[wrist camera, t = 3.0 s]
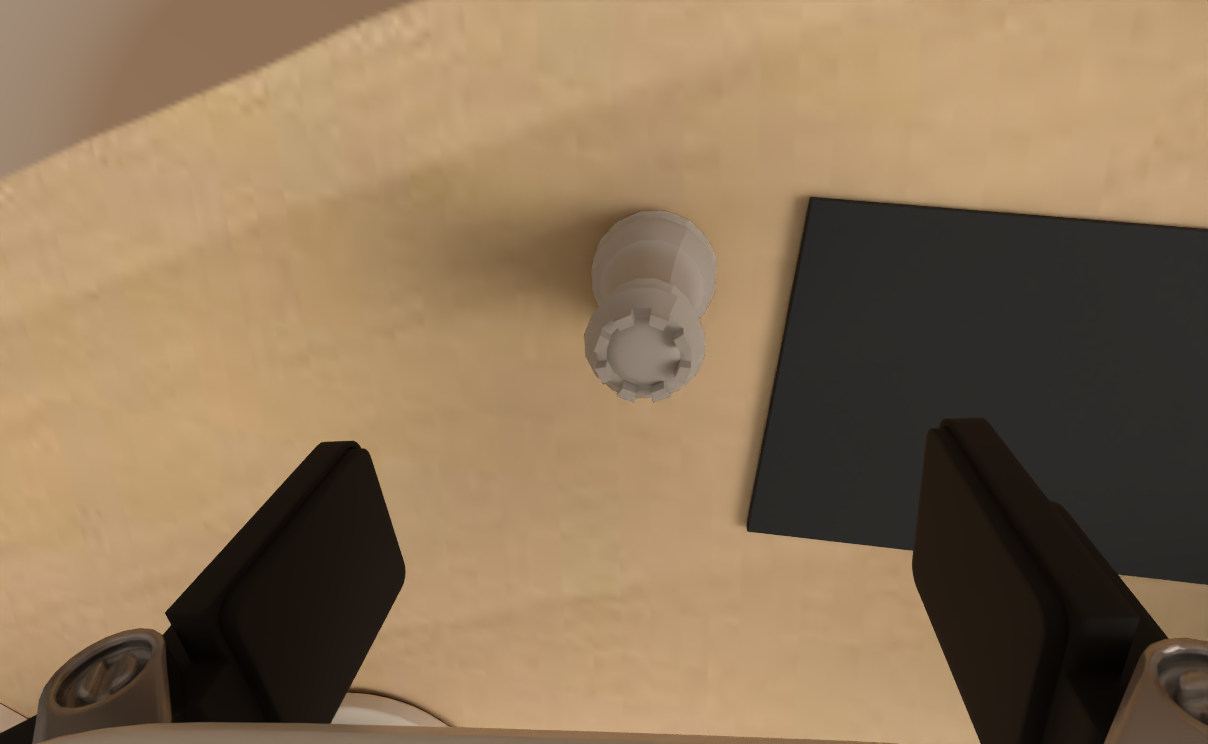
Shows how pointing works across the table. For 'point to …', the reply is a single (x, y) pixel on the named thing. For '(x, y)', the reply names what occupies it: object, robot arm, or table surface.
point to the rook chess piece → (649, 304)
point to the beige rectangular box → (9, 718)
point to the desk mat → (994, 374)
